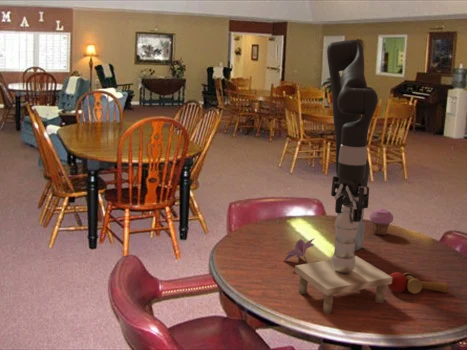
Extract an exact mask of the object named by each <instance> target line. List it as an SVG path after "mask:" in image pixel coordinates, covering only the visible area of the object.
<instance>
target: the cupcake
mask: <svg viewBox="0 0 467 350" xmlns="http://www.w3.org/2000/svg"><path fill="white" fill-rule="evenodd" d="M369 220H370V221H371V222H372V223H371V224H372V233H373V234H375V235H382V236H386V235H387V232H388V228H389V225H390V224H391V223H393V222H394V215H393V213H392V212H391V211H389V210H388V209H386V208H380V207H379V208H376V209H374V210H373V211H372V212H370V214H369Z"/></svg>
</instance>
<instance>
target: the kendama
mask: <svg viewBox="0 0 467 350" xmlns="http://www.w3.org/2000/svg"><path fill="white" fill-rule="evenodd" d="M389 276H391V277H392V284H388V285H387V287H388V289H389V290H390V291H391V292H394V293H402V292H404V291H405V292H406V291H408V292H409V293H411V294H418V293H420V292H421V291H422V289H424V290H425V289H426V290H430V291H436V292H439V293H444V294H445V293H447V292H448V290H449V289H448V287H449V286H448V283H447V282H438V281H437V282H435V281H420V279H418V278H417V277H416V275H415V274H413V273H412V272H404V273H402V272H398V271H397V272H396V271H395V272H393V273H391V274H389Z"/></svg>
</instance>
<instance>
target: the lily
mask: <svg viewBox="0 0 467 350" xmlns="http://www.w3.org/2000/svg"><path fill="white" fill-rule="evenodd" d="M315 239H316V238H312V239H310V240H308V241H307V242H306V241H304V239H301V238H300V239H298V240H297V241H296V243H295V244H294V249H291V250H290V251H288V252H286V253H285V255H286V256H285V258H284V259H283V262H286V261H288V260H289V259H290V258H292V257H296V258H297V259H301V257H303V258H304V260H305V264H308V261H307V259H306V256H305V254H306V252H307V249H309V248H311V247H314V245H315V244H314V243H312V242H313V241H314V240H315Z"/></svg>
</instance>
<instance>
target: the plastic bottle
mask: <svg viewBox="0 0 467 350" xmlns="http://www.w3.org/2000/svg"><path fill="white" fill-rule="evenodd" d="M341 211H342V213H341V214H340V215H339V216H338V217H337V216H336V218H335V221H334V223H335V224H334V226H335V227H334V228H335V236H336V244H335V243H334V251H333V255H332V259H331V260H332V267H333V269H334V270H335V271H337V272H341V273H350V272H352V271H353V270H354V267H355V257H354V256H356V255H355V252H356V251H355V240H356V234H357V230H358V226H359V223H358V222H354V221H353V211H354V206H353V204H342V209H341Z"/></svg>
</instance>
